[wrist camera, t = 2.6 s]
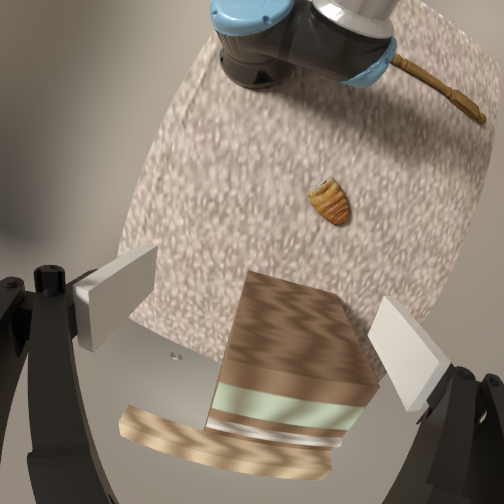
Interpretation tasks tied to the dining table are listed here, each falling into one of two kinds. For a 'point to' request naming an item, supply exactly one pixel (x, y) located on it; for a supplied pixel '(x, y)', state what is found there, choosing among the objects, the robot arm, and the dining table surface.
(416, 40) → the dining table surface
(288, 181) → the dining table surface
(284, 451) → the beech bar
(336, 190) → the pastry
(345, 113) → the dining table surface
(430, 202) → the dining table surface
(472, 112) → the wooden spindle
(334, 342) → the brown wavy patterned box
